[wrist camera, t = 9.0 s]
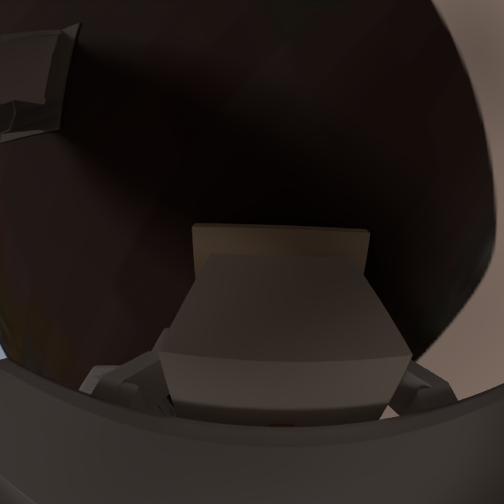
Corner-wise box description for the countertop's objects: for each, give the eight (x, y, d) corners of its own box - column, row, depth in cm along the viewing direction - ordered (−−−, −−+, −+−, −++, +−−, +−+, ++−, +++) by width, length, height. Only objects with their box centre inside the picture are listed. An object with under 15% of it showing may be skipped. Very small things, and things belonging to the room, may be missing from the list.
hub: (195, 223, 12) (154, 264, 8) (366, 229, 12) (412, 273, 7) (206, 355, 15) (187, 419, 11) (339, 359, 15) (355, 423, 10)
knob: (210, 252, 11) (148, 368, 5) (351, 258, 11) (421, 371, 5) (218, 358, 14) (190, 471, 7) (330, 362, 13) (352, 474, 7)
